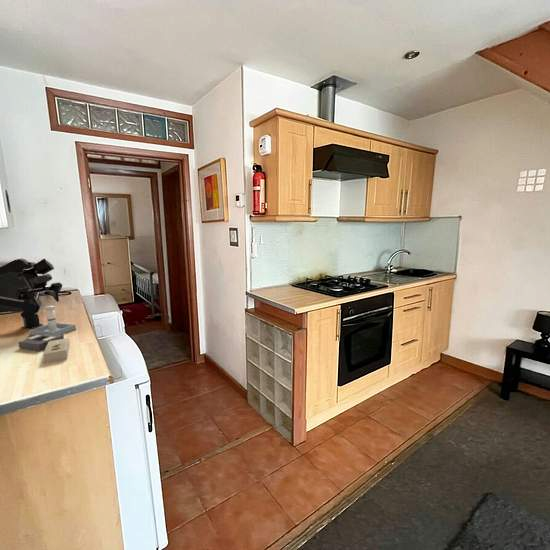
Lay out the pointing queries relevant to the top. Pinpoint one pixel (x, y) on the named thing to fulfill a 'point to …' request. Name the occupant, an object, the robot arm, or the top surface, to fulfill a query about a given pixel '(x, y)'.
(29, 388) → the top surface
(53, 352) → the electrical outlet
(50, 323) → the light bulb
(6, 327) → the top surface
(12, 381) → the top surface
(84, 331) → the top surface
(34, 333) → the parts tray
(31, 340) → the socket block
